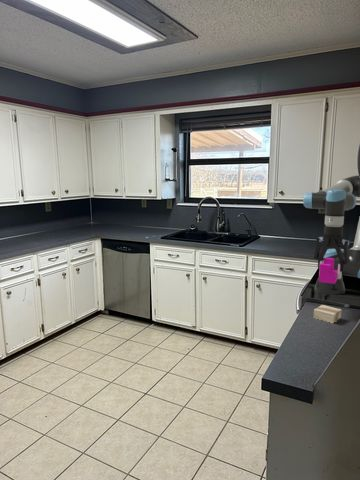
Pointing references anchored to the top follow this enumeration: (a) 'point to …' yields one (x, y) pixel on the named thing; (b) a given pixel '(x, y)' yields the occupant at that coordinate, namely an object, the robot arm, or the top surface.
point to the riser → (327, 313)
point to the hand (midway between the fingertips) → (330, 276)
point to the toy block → (328, 271)
